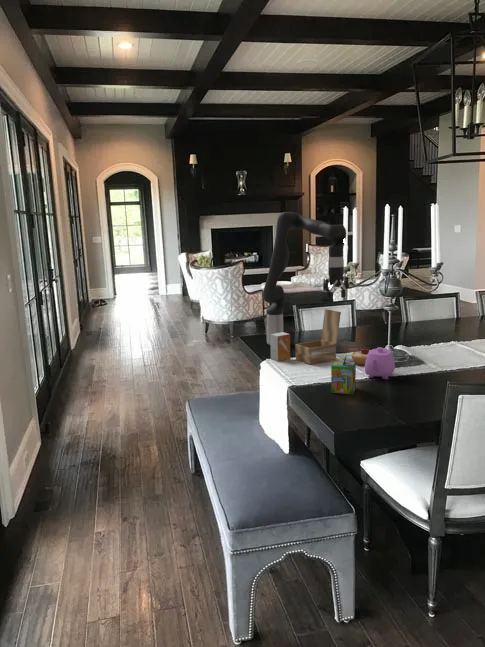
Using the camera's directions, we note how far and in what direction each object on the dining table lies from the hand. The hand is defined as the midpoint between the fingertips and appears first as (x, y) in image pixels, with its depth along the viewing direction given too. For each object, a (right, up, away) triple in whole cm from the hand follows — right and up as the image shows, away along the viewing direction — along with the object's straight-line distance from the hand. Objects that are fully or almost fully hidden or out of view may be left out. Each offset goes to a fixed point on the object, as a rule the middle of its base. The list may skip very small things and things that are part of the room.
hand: (336, 298), depth 263 cm
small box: (-27, -31, +5) cm, 41 cm away
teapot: (+14, -36, -30) cm, 49 cm away
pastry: (+12, -32, -9) cm, 35 cm away
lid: (-3, -14, +3) cm, 14 cm away
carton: (-10, -31, +1) cm, 32 cm away
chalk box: (-5, -40, -48) cm, 62 cm away
